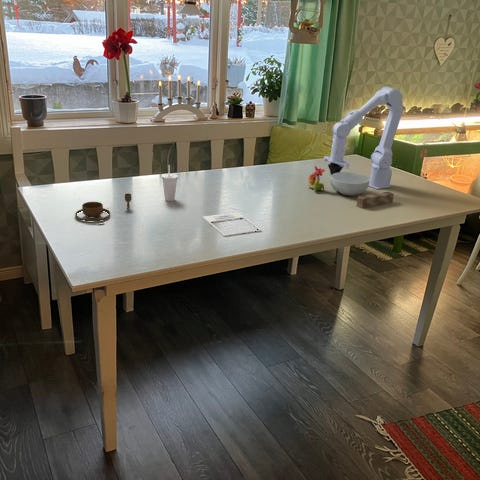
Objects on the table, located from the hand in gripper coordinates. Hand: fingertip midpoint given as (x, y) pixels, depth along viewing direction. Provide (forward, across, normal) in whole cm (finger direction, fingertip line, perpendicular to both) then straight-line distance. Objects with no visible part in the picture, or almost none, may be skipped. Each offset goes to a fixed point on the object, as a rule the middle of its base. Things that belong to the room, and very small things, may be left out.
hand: (333, 179), depth 229 cm
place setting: (+4, -4, -104) cm, 105 cm away
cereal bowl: (+3, +10, 0) cm, 10 cm away
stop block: (+3, +26, 0) cm, 26 cm away
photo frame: (+3, +21, -67) cm, 70 cm away
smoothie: (+3, -11, -76) cm, 77 cm away
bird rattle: (+3, +1, -12) cm, 12 cm away
